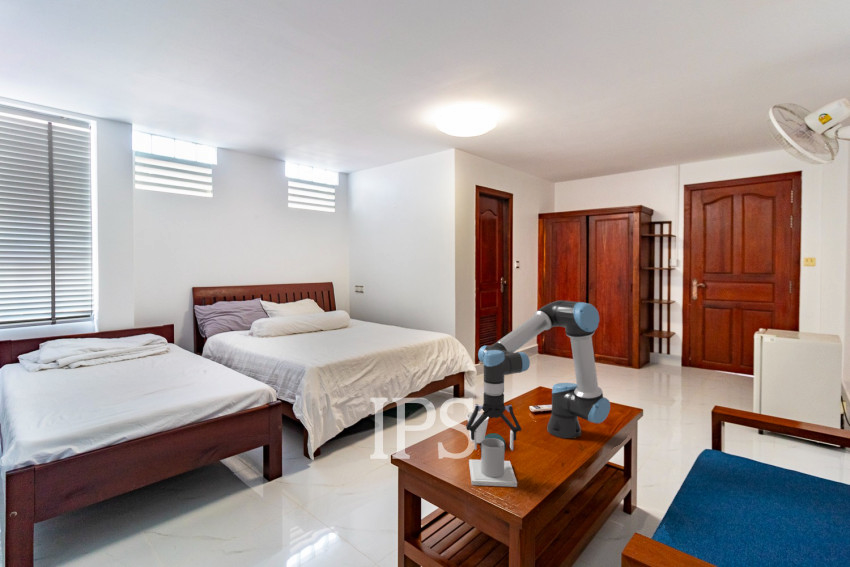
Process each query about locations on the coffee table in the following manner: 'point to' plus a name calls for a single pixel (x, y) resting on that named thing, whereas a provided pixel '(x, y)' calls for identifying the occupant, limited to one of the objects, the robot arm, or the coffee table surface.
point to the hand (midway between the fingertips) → (493, 448)
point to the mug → (492, 457)
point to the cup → (479, 428)
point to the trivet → (480, 478)
